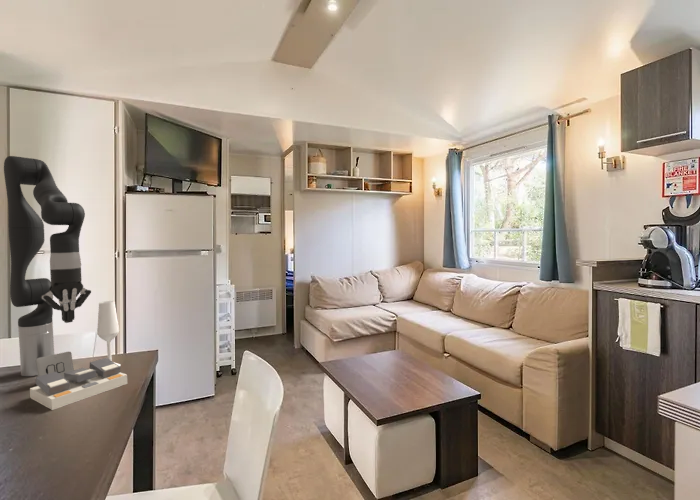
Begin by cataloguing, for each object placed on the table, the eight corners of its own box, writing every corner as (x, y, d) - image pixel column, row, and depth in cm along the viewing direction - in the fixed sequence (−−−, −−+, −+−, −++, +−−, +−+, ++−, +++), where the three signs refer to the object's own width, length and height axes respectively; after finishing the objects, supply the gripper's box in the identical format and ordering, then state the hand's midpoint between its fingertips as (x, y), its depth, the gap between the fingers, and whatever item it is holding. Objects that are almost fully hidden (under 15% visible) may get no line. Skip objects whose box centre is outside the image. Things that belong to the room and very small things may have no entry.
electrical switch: (39, 388, 115) (37, 359, 115) (35, 386, 118) (33, 357, 118) (75, 379, 122) (73, 351, 122) (70, 377, 125) (68, 350, 125)
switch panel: (30, 398, 108) (29, 385, 107) (104, 375, 125) (103, 364, 125) (52, 410, 100) (51, 397, 100) (127, 383, 117) (127, 372, 117)
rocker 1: (35, 383, 106) (35, 376, 106) (56, 377, 111) (56, 370, 110) (48, 395, 102) (49, 387, 102) (69, 388, 106) (69, 381, 106)
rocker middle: (64, 379, 112) (63, 372, 112) (82, 373, 117) (82, 366, 117) (77, 382, 108) (77, 374, 108) (96, 376, 112) (95, 369, 112)
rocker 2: (89, 368, 118) (89, 361, 118) (106, 363, 123) (106, 356, 122) (103, 377, 114) (103, 371, 114) (120, 372, 118) (120, 366, 118)
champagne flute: (97, 371, 128) (94, 304, 127) (99, 366, 134) (96, 301, 132) (120, 368, 131) (117, 302, 130) (121, 362, 137) (118, 299, 136)
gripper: (84, 264, 119) (86, 316, 120) (33, 268, 108) (36, 325, 109) (95, 265, 116) (97, 319, 117) (44, 269, 104) (47, 328, 105)
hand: (68, 322), depth 113 cm, fingers closed
